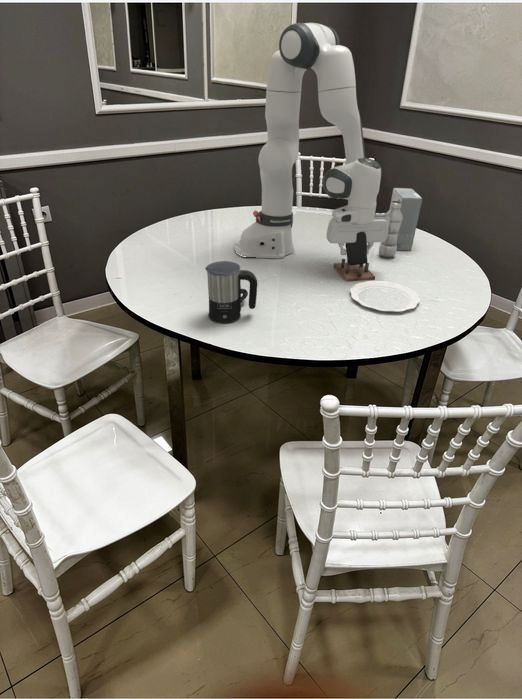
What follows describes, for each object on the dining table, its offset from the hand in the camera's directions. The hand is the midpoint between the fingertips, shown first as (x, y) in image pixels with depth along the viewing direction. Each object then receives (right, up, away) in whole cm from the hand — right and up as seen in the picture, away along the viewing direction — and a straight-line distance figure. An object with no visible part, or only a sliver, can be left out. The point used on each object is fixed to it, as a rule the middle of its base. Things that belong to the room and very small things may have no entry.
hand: (354, 254), depth 158 cm
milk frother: (-41, -20, -21) cm, 50 cm away
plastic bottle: (+16, +3, +18) cm, 24 cm away
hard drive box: (+23, +10, +29) cm, 39 cm away
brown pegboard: (+1, -6, +4) cm, 7 cm away
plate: (+7, -17, -12) cm, 22 cm away
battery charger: (+1, -3, +2) cm, 4 cm away
